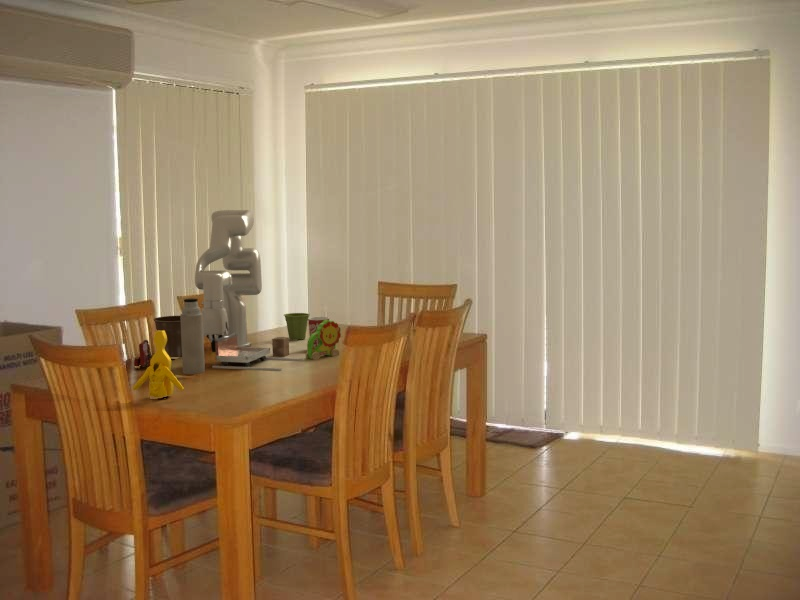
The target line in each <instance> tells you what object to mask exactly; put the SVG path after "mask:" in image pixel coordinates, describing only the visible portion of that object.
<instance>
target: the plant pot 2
mask: <svg viewBox="0 0 800 600" xmlns="http://www.w3.org/2000/svg"><path fill="white" fill-rule="evenodd" d="M310 315H311V314H310V313H308V312H307V313H306V312H293V313H285V314H283V316H284V319H285V321H286V323H285V324H286V327H287V329H286V330H287V333H288V337H289V340H290V341H291V340H292V341H298V340H302V339H303V340H305V339H306V336H307V329H308V323H309V321H308V318H310Z"/></svg>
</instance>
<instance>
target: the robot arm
mask: <svg viewBox="0 0 800 600" xmlns="http://www.w3.org/2000/svg"><path fill="white" fill-rule="evenodd" d="M210 218H211V222H212V224H211V233H210V243H209V247H208V249H206V251H204V252H203V253H202V254H201V255H200V257H199V258H198V260H197V262H196V265H195V270H194V271H195V274H194V284H195V287H196V288H197V289H199V290H202V291H203V300H202V301H201V302H200V304H201V305H202V306H203V308H202V309H201V313H202V314H203V336H204V337H205V338H207V339H208V340H209V342H210V345H211V346H210V349H211V351H212V352H211V353H216V349H215V339H218V338H221V337H224V336H228V335H230V334H233V333H237V334H238V336H237V340H238V349H239V347H251V345H252V343H251V341H248V327H247V325H248V324H247V306H246V303H245V301H244V300H243V298H241V297H240V296H258V295H260V293H261V292H262V287H263V285H262V284H263V281H262V262H261V255H260V253H259V250H257V249H256V248H254V247H246V248H245V247H243V242H242V237H245V236H247V235H249V233H250V232H251V230H252V229H253V226H254V223H255V220H254V219H255V218H254V215H253V213H252V211H251V210H248V209H222V210H221V209H220V210H215V211H214V212H212V213H211V217H210ZM220 259H221V260H222V265H223V268H224V269H225V270H206V268H207V267H208V266H209V265H210V264H211V263H215V262H217V261H219V260H220ZM229 271H247V272H246V273H244V272H243V273H242V272H240V273H239V272H237V273H234V272H232V273H230V272H229ZM248 272H249V273H248Z"/></svg>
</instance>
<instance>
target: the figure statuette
mask: <svg viewBox="0 0 800 600" xmlns="http://www.w3.org/2000/svg"><path fill="white" fill-rule="evenodd" d="M153 343H154V347H155V348H156V351H154V354H153V355H152V358H151V360H150V365H151V366H149V367H146V370H145V372H143V375H141V377H139V378H138V380H137V381H136V382H135V384H134V385H133V386H132V388H131V389H132V390H133V391H137V390H138V389H139V388H140V387H142V385H143V384H144V383H145V382H146V381H147V380H148V379H149V383H148V389H149V390H148V392H149V393H148V394H149V396H154V397H164V396H167V395H171V394H172V395H173V394H174V390H175V387H176V388H177V389H178V390H179V391H181V392H183V390H185V388H184V386H183V385H182V384H181V382H180V381H179V380H178V379H177V377H176V376H175V375H174V373H173V372H172V371H171V370H172V369H171V368H172V360H171V358H170V357H169V355H168V354H167V353H166V351H165V346H166V343H167V336H166V333H165V331H164V330H163V331H160V330H158V331H157V330H155V333H154V335H153Z"/></svg>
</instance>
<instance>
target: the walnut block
mask: <svg viewBox="0 0 800 600" xmlns="http://www.w3.org/2000/svg"><path fill="white" fill-rule="evenodd" d="M271 341H272V342H271V343H272V345H271V346H272V357H274V358H286V357H287V356H289V355H290V339H289V336H287V337H286V336H276V337H274V338H272V339H271Z"/></svg>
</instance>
